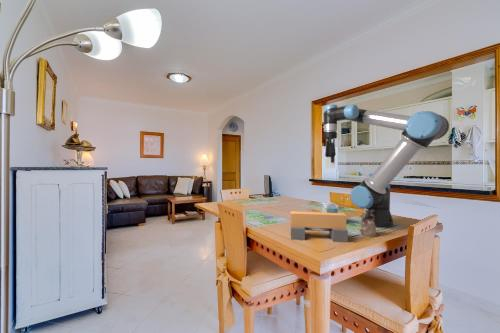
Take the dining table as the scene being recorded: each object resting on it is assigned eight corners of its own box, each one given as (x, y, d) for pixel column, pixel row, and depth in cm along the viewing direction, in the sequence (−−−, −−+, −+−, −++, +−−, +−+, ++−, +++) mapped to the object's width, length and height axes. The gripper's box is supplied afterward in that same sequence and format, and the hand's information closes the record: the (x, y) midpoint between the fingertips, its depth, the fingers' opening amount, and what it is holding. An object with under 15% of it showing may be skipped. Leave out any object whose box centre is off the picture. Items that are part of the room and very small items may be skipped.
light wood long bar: (343, 226, 110) (343, 213, 110) (346, 229, 105) (346, 215, 105) (290, 223, 114) (290, 211, 114) (290, 226, 109) (290, 213, 109)
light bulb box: (339, 225, 130) (339, 205, 130) (326, 225, 131) (326, 205, 130) (332, 220, 141) (332, 202, 141) (321, 220, 141) (321, 201, 141)
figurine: (359, 231, 119) (360, 207, 118) (375, 233, 115) (376, 208, 115) (358, 235, 112) (359, 210, 112) (376, 237, 109) (376, 211, 109)
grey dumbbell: (342, 235, 113) (342, 224, 113) (347, 242, 103) (347, 230, 103) (290, 232, 117) (290, 222, 116) (291, 239, 107) (291, 228, 107)
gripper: (320, 134, 154) (320, 167, 155) (327, 129, 129) (326, 168, 130) (332, 134, 153) (332, 167, 153) (341, 129, 128) (341, 168, 129)
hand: (329, 167), depth 142 cm, fingers open, 13 cm apart
